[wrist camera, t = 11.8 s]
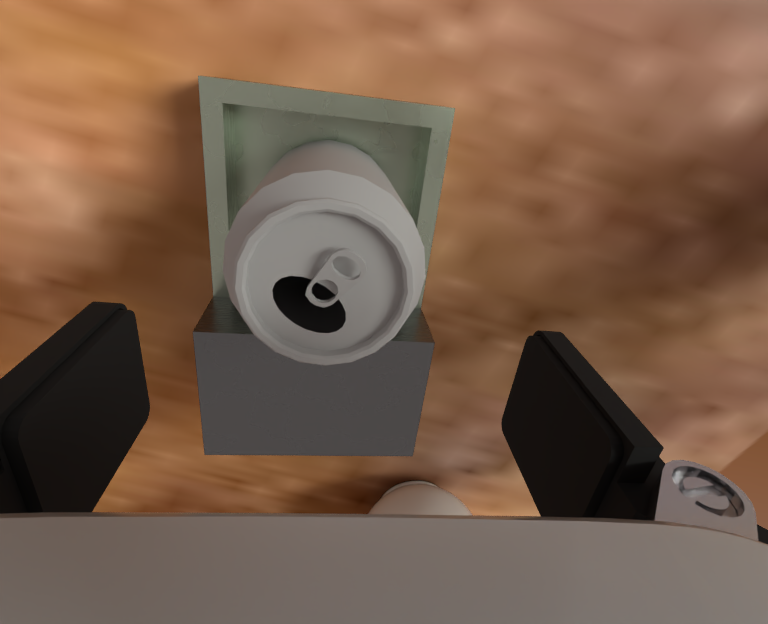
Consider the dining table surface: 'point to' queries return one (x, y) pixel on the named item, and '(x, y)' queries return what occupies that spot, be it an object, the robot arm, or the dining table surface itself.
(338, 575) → the robot arm
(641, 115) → the dining table surface
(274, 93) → the frame
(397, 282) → the can
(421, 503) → the lidded jar
